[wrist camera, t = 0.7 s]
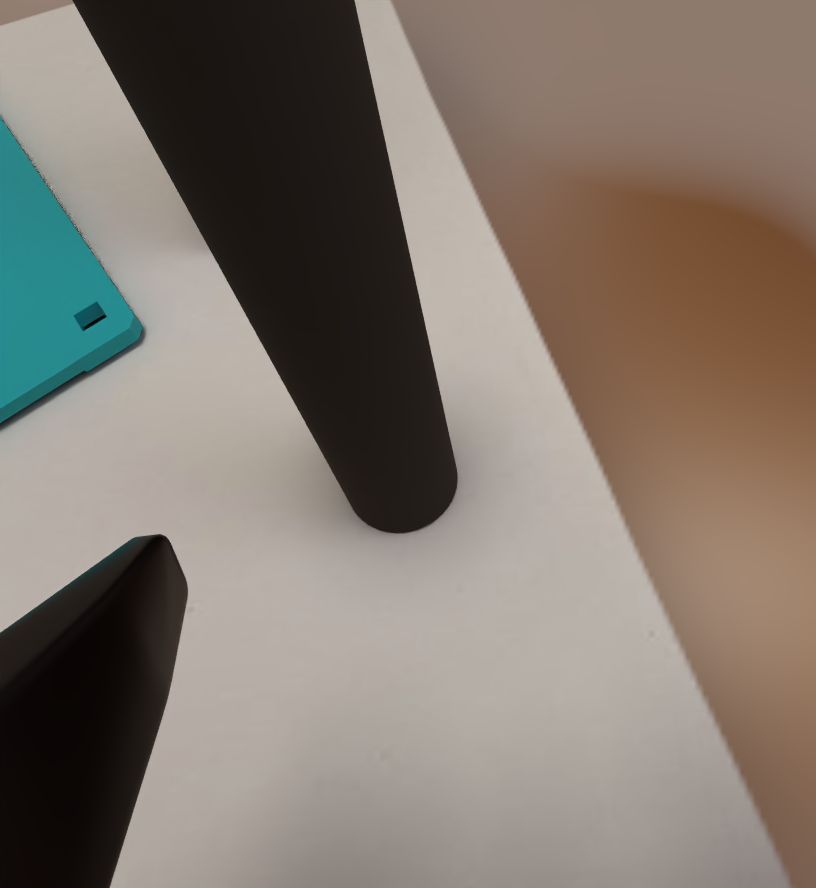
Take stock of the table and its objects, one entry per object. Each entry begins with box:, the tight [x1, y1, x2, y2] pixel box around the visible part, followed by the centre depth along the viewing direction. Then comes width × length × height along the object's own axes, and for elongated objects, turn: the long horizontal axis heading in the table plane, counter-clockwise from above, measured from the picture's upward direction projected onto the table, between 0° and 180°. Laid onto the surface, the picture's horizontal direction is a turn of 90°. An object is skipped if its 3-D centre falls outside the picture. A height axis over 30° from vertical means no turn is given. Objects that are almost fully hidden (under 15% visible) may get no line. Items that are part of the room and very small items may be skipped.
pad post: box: [73, 0, 457, 533], centre depth 18 cm, size 4×4×20 cm
